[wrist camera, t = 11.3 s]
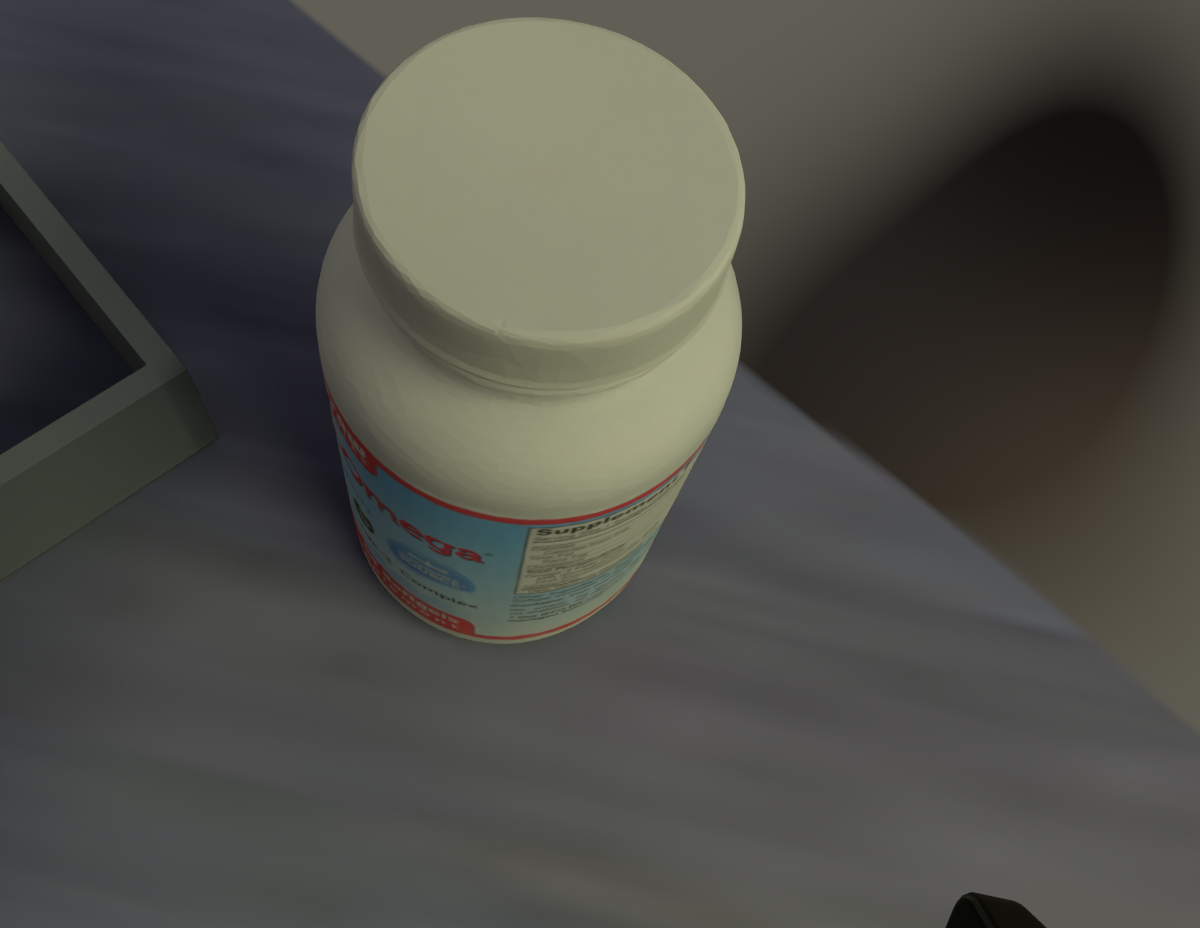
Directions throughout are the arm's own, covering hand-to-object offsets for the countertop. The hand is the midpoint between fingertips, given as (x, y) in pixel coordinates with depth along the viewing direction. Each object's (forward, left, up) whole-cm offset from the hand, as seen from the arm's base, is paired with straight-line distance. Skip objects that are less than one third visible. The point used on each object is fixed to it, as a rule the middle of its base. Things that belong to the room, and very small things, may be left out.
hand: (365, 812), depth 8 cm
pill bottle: (+6, +5, -13) cm, 15 cm away
